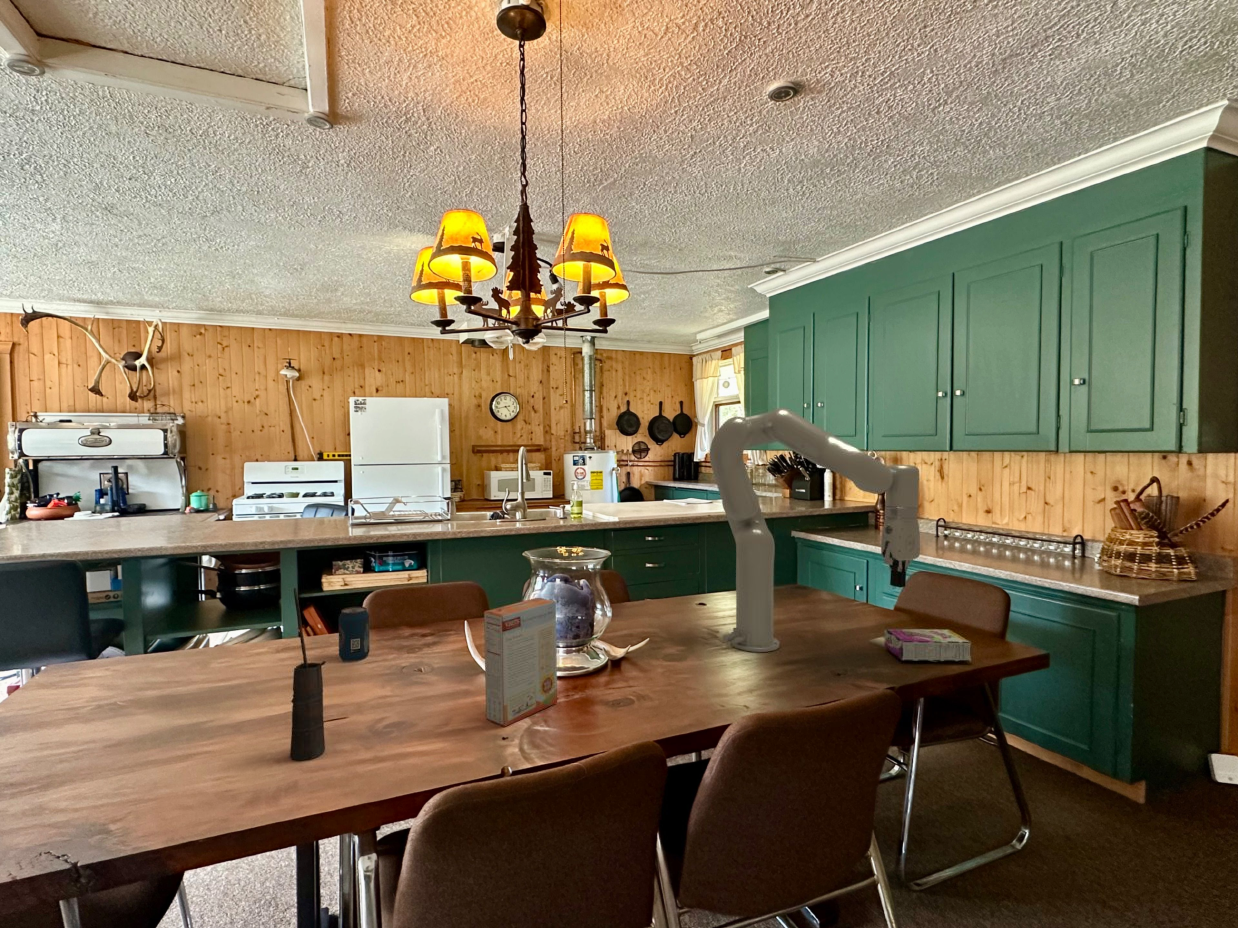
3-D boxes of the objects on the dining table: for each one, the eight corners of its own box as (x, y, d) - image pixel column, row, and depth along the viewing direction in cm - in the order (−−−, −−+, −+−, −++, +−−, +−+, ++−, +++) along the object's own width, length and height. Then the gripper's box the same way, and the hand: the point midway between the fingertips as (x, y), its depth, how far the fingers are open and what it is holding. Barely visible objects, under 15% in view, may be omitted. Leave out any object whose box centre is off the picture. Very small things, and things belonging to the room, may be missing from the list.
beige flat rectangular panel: (935, 662, 148) (935, 659, 148) (868, 642, 163) (868, 640, 163) (964, 652, 155) (964, 650, 155) (898, 634, 170) (898, 632, 170)
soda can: (338, 655, 152) (337, 607, 152) (368, 651, 156) (367, 604, 155) (339, 664, 146) (339, 614, 146) (370, 660, 149) (370, 611, 149)
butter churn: (351, 736, 109) (350, 580, 109) (335, 763, 100) (333, 592, 99) (296, 740, 108) (294, 581, 107) (274, 768, 98) (272, 594, 98)
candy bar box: (883, 627, 157) (949, 628, 157) (883, 646, 158) (948, 648, 157) (902, 640, 146) (972, 641, 146) (902, 661, 146) (972, 662, 146)
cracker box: (537, 696, 127) (537, 595, 127) (558, 703, 123) (558, 600, 123) (483, 719, 116) (482, 609, 116) (504, 728, 113) (503, 614, 112)
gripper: (897, 516, 147) (893, 592, 148) (932, 514, 156) (928, 586, 156) (869, 513, 154) (866, 585, 154) (904, 511, 162) (901, 580, 162)
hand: (897, 586), depth 155 cm, fingers closed
